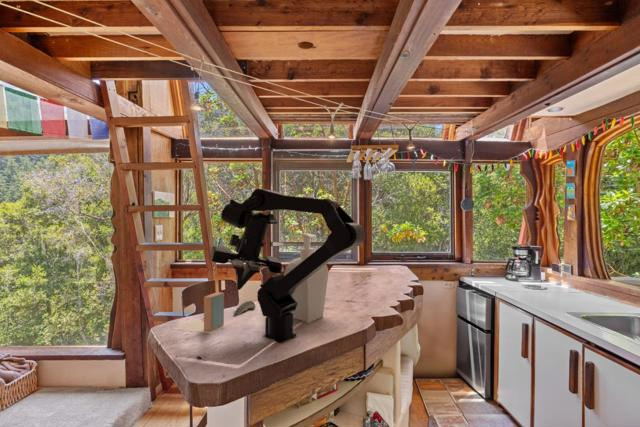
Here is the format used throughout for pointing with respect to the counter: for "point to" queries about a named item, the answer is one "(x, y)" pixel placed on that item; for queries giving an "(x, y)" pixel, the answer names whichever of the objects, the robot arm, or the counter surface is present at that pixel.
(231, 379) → the counter surface
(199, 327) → the mat
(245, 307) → the ceramic fragment
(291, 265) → the soap bottle
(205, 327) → the block
